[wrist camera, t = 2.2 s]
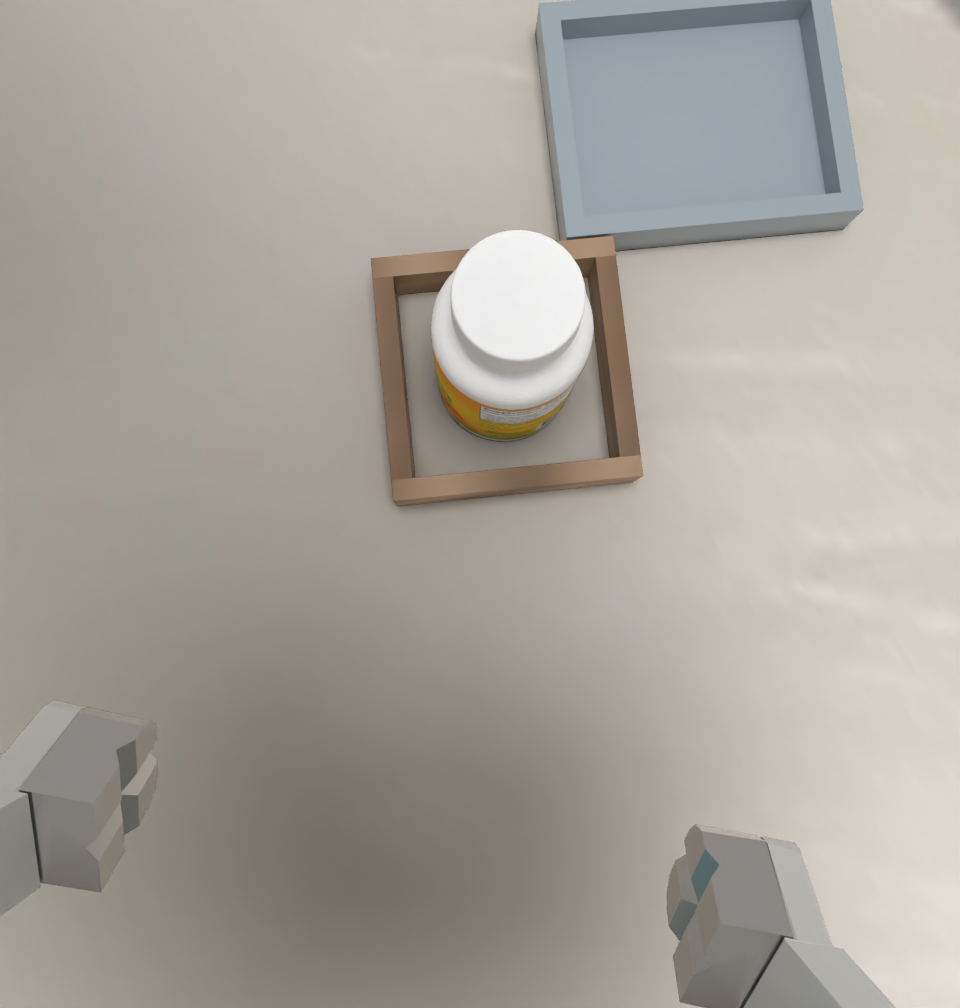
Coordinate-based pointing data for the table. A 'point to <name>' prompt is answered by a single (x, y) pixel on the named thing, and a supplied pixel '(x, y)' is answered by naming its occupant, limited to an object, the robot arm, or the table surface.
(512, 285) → the supplement bottle
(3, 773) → the robot arm
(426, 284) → the walnut holder
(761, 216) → the slate tray
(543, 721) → the table surface
